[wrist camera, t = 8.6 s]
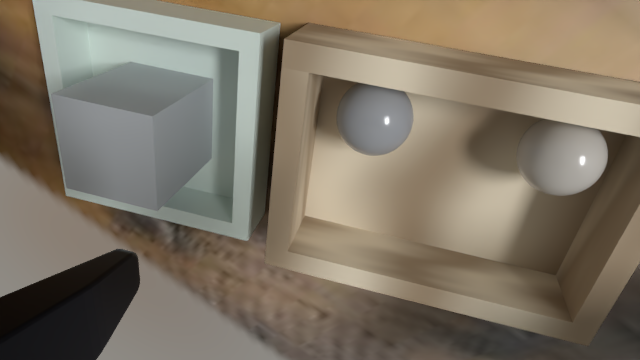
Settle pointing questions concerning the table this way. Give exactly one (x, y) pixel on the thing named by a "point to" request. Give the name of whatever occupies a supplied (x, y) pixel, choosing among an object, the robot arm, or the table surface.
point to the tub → (188, 57)
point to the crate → (454, 184)
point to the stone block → (134, 133)
